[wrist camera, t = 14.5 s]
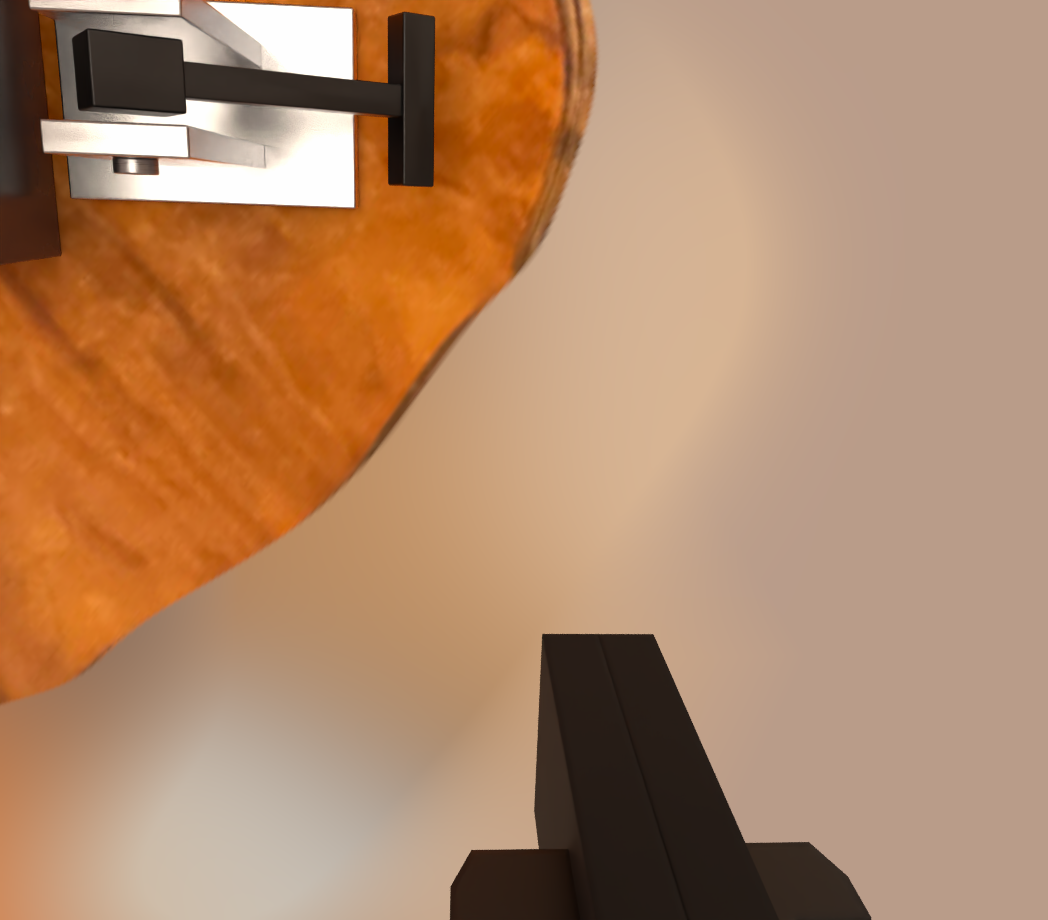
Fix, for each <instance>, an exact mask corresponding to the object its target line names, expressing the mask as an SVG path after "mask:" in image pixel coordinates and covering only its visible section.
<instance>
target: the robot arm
mask: <svg viewBox="0 0 1048 920" xmlns="http://www.w3.org/2000/svg"><path fill="white" fill-rule="evenodd" d="M541 654H542V655H541V675H540V696H539V697H540V698H539V718H538V719H539V720H538V741H537V764H536V785H535V807H534V812H535V820H536V828H537V837H538V845H539V849H521V850H520V849H516V850H471V852H470V854H469V855H468V857H467V859H466V861H465V863H464V864H463V866H462V868H461V869H460V871H459V873H458V875H457V876H456V878H455V880H454V882H453V883H452V885H451V896H450V899H451V900H450V920H871V916H870V915H869V913H868V911H867V909H866V908H865V906H864V904H863V902H862V901H861V899H860V897H859V896H858V894H857V892H856V890H855V888H854V887H853V885H852V883H851V882H850V879H849V878H848V876H847V875H846V874H844V873H843V872H842V871H841V870H840V869H839V868H837V867H836V866H835V865H834V864H833V863H832V862H831V861H830V860H828V859H827V858H826V857H825V856H824V855H823V854H822V853H821V852H819V851H818V850H817V849H816V848H815V847H814V846H813V845H811V844H810V843H809V842H788V843H745V841H744V839H743V837H742V835H741V832H740V830H739V828H738V825H737V823H736V821H735V818H734V816H733V814H732V812H731V809H730V808H729V805H728V803H727V800H726V798H725V796H724V793H723V791H722V789H721V787H720V785H719V782H718V780H717V778H716V775H715V773H714V771H713V769H712V766H711V764H710V762H709V760H708V757H707V755H706V753H705V750H704V748H703V746H702V744H701V741H700V739H699V737H698V734H697V732H696V730H695V728H694V725H693V723H692V721H691V719H690V716H689V714H688V712H687V710H686V707H685V705H684V703H683V700H682V698H681V696H680V694H679V692H678V689H677V687H676V685H675V682H674V680H673V678H672V675H671V673H670V671H669V669H668V666H667V664H666V662H665V660H664V657H663V655H662V653H661V651H660V648H659V646H658V644H657V641H656V639H655V637H654V635H653V634H543V635H542V652H541Z"/></svg>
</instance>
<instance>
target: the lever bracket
mask: <svg viewBox="0 0 1048 920" xmlns="http://www.w3.org/2000/svg"><path fill="white" fill-rule="evenodd" d="M28 7H29V9H31V10H33V11H35V12H37V13H40V14H42V15H44V16H47V17H49V18H51V19H54V21H55V32H56V43H57V54H58V65H59V76H60V87H61V98H62V109H63V120H61V119H40V131H41V141H42V151H43V153H45V154H55V155H65V156H67V164H68V175H69V186H70V197H71V198H72V199H93V200H121V201H149V202H177V203H204V204H232V205H260V206H287V207H315V208H343V209H357V208H358V121H357V115H352V114H340V113H329V112H317V111H306V110H294V109H283V108H271V107H259V106H248V105H236V104H225V103H213V102H202V101H190V100H186V106H187V112H186V114H182V115H177V116H171V117H154V116H141V115H127V114H114V113H101V112H88V111H80V110H79V109H78V104H77V92H76V81H75V69H74V58H73V46H72V38H73V37H74V36H76V35H77V34H79V33H81V32H82V31H84V30H85V29H88V28H92V29H100V30H108V31H116V32H125V33H133V34H141V35H149V36H158V37H166V38H174V39H180V40H182V42H183V54H184V61H187V62H196V63H205V64H214V65H224V66H233V67H242V68H251V69H260V70H270V71H279V72H288V73H297V74H306V75H316V76H325V77H334V78H343V79H352V80H357V31H356V13H355V11H354V9H353V8H351V7H331V6H312V5H293V4H273V3H254V2H234V1H215V0H28Z"/></svg>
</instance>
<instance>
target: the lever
mask: <svg viewBox="0 0 1048 920" xmlns="http://www.w3.org/2000/svg"><path fill="white" fill-rule="evenodd" d="M72 46H73V58H74V69H75V81H76V92H77V104H78V109H79V110H80V111H88V112H101V113H114V114H127V115H141V116H154V117H171V116H177V115H182V114H186V112H187V106H186V100H190V101H202V102H213V103H225V104H236V105H248V106H259V107H271V108H283V109H294V110H306V111H317V112H329V113H340V114H352V115H364V116H375V117H387V118H388V184H389V185H391V186H414V187H432V186H433V180H434V76H435V17H434V16H429V15H423V14H417V13H410V12H402V13H398V14H395V15H391V16H389V17H388V83H380V82H371V81H361V80H352V79H343V78H334V77H325V76H316V75H306V74H297V73H288V72H279V71H270V70H260V69H251V68H242V67H233V66H224V65H214V64H205V63H196V62H187V61H184V54H183V42H182V40H180V39H174V38H166V37H158V36H149V35H141V34H133V33H125V32H116V31H108V30H100V29H92V28H88V29H85V30H84V31H82V32H81V33H79V34H77V35H76V36H74V37H73V38H72Z"/></svg>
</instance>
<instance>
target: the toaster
mask: <svg viewBox="0 0 1048 920" xmlns="http://www.w3.org/2000/svg"><path fill="white" fill-rule="evenodd" d="M40 119H48V114H47V103H46V93H45V82H44V72H43V61H42V51H41V40H40V30H39V19H38V13H37V12H35V11H33V10H31V9H29V7H28V0H0V265H4V264H10V263H17V262H24V261H30V260H37V259H44V258H50V257H57V256H61V251H60V240H59V230H58V219H57V208H56V198H55V187H54V177H53V166H52V156H51V154H45V153H43V151H42V141H41V131H40Z"/></svg>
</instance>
